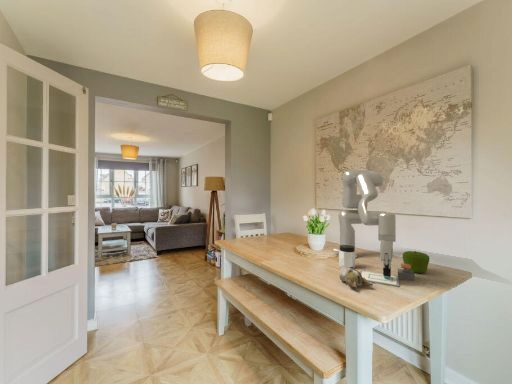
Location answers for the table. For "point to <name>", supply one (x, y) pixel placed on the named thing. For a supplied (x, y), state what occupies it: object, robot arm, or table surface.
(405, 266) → the button
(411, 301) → the table surface
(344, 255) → the jar
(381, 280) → the white flat board
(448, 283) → the table surface
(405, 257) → the apple
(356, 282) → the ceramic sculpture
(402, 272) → the button housing
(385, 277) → the marker
